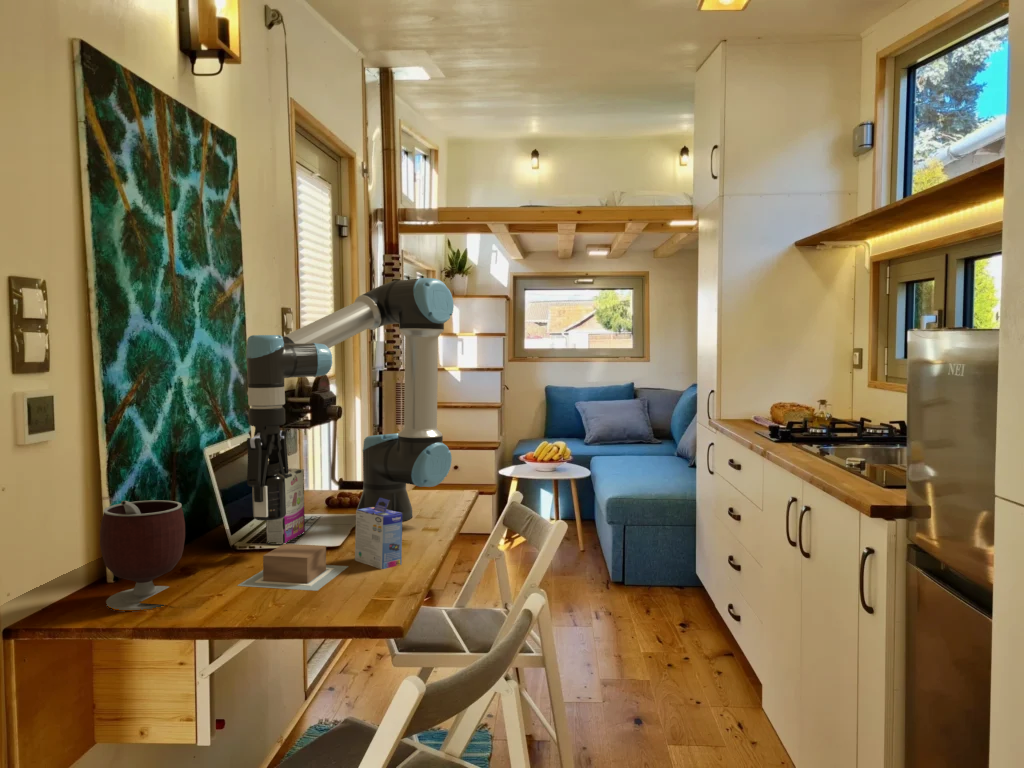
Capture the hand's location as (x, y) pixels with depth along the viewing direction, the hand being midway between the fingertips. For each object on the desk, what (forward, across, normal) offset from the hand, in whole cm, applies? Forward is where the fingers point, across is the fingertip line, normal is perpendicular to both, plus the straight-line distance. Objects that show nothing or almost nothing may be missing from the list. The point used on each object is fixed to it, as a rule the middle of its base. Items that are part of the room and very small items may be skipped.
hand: (269, 512), depth 162 cm
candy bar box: (+11, -18, -5) cm, 22 cm away
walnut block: (+9, +13, +12) cm, 20 cm away
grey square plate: (+11, +13, +12) cm, 20 cm away
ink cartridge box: (+11, +1, +25) cm, 27 cm away
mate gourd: (+10, +29, -10) cm, 32 cm away
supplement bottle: (+1, 0, 0) cm, 1 cm away
